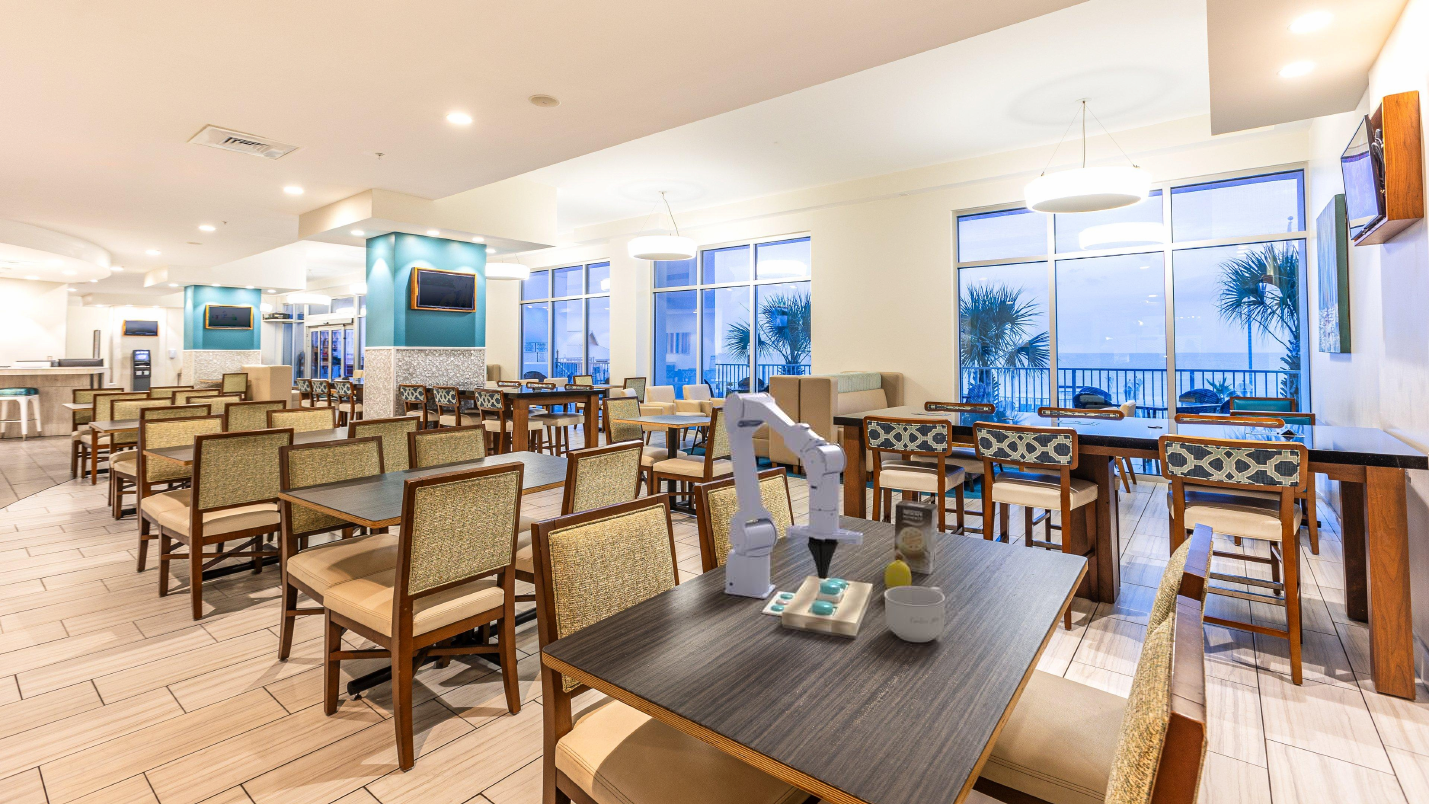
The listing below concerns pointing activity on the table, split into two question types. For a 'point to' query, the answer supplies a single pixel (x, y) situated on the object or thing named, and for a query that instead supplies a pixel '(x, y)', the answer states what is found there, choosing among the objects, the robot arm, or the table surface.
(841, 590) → the button mid
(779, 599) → the card
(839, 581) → the button far
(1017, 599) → the table surface
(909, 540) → the coffee box
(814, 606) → the button near
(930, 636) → the teacup
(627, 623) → the table surface
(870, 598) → the button board
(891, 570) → the lemon
